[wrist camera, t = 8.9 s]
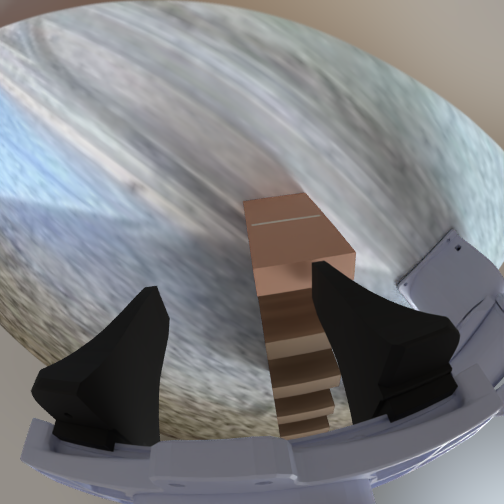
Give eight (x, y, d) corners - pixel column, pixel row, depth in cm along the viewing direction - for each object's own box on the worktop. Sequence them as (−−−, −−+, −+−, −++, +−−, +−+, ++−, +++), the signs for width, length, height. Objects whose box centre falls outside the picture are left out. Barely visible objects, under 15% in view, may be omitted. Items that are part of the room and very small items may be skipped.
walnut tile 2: (264, 336, 28) (277, 417, 20) (309, 328, 29) (334, 405, 20) (266, 346, 29) (278, 424, 21) (309, 338, 29) (333, 413, 20)
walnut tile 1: (268, 364, 31) (280, 437, 22) (309, 356, 31) (329, 427, 22) (270, 371, 32) (280, 442, 23) (309, 364, 32) (328, 432, 23)
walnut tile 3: (258, 301, 26) (272, 388, 17) (309, 292, 26) (341, 374, 17) (260, 313, 27) (273, 399, 18) (309, 305, 27) (339, 386, 18)
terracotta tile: (243, 201, 21) (252, 268, 13) (305, 192, 21) (355, 252, 13) (246, 220, 22) (257, 296, 13) (306, 211, 22) (353, 279, 13)
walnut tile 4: (252, 256, 24) (265, 343, 15) (308, 247, 24) (349, 326, 15) (254, 272, 24) (268, 360, 16) (309, 263, 24) (346, 344, 16)
